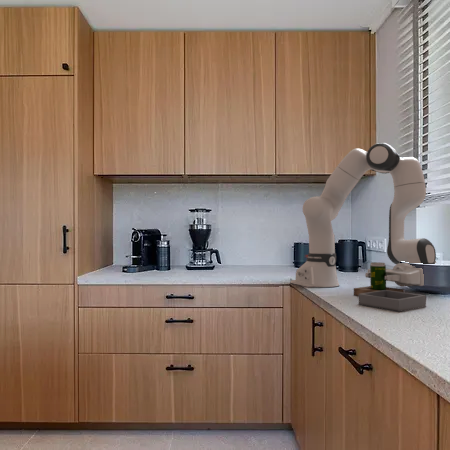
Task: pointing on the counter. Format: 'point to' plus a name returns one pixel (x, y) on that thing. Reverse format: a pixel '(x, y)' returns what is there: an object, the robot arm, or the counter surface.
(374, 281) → the beer can
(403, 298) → the tray
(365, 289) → the brown square board
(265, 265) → the counter surface
